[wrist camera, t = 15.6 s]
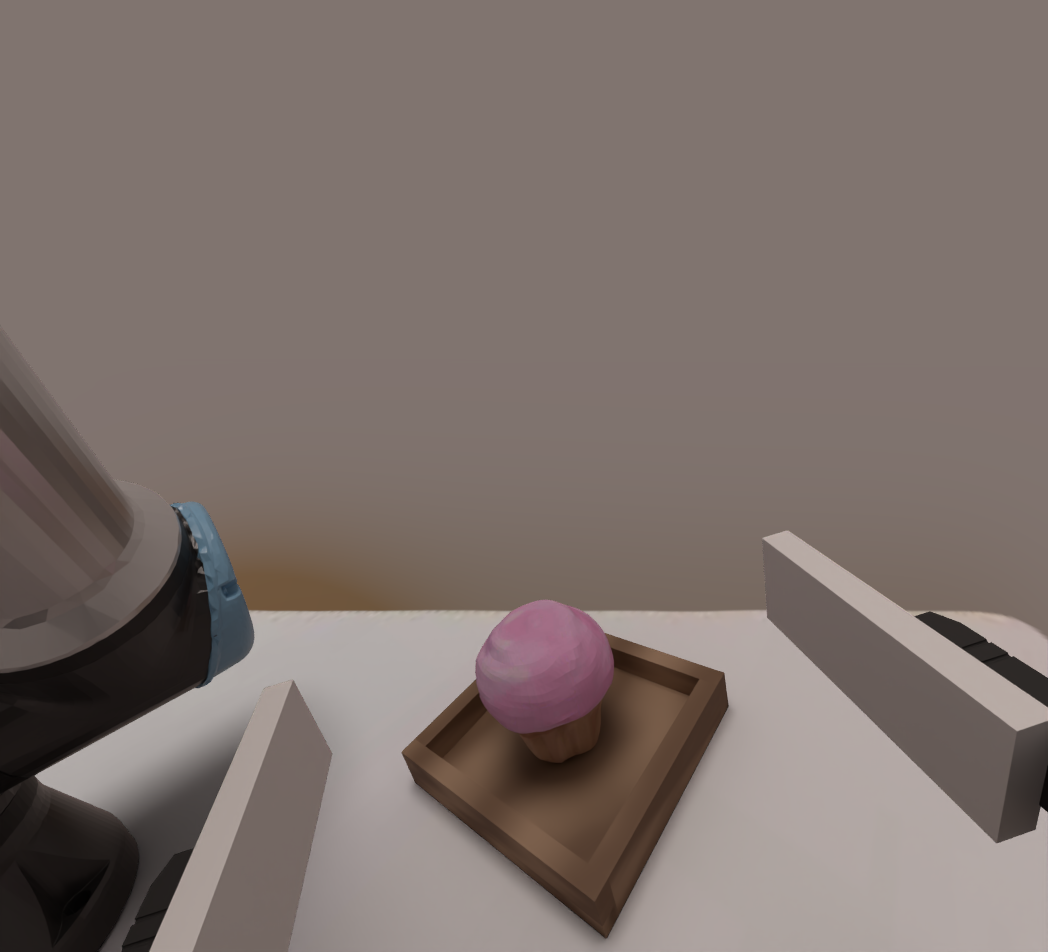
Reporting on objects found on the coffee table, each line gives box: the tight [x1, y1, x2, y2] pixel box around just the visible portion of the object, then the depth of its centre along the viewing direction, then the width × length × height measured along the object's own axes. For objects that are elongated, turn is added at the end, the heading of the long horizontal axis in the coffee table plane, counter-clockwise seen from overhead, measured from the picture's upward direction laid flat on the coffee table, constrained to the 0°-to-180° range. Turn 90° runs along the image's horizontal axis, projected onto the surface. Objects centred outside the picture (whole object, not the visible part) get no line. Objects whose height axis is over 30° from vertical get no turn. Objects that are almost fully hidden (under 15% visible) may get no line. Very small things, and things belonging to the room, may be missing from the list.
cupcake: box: [475, 600, 614, 763], centre depth 33 cm, size 9×9×10 cm
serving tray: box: [402, 633, 728, 938], centre depth 35 cm, size 16×16×3 cm
